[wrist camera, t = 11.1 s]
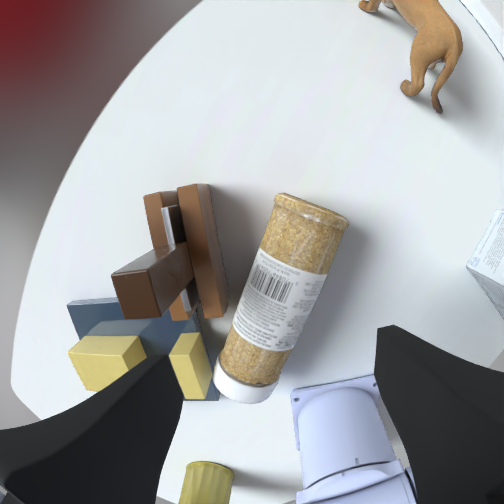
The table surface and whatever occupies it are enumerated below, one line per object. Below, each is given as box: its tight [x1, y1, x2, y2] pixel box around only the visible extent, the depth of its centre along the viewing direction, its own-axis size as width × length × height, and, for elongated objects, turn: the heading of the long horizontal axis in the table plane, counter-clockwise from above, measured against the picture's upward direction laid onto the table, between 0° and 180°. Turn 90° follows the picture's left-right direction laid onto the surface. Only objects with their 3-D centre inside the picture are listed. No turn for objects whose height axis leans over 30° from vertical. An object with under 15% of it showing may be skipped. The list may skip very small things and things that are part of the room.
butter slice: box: [169, 332, 212, 399], centre depth 18 cm, size 4×2×3 cm, turn 9°
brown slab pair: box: [143, 184, 230, 321], centre depth 17 cm, size 8×3×3 cm, turn 10°
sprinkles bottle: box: [213, 193, 349, 404], centre depth 17 cm, size 5×5×13 cm
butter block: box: [67, 336, 147, 392], centre depth 19 cm, size 4×6×3 cm, turn 100°
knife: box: [111, 204, 199, 320], centre depth 14 cm, size 6×2×9 cm, turn 9°
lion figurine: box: [359, 0, 463, 114], centre depth 9 cm, size 15×5×9 cm, turn 25°
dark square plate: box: [67, 297, 220, 401], centre depth 20 cm, size 10×12×1 cm
